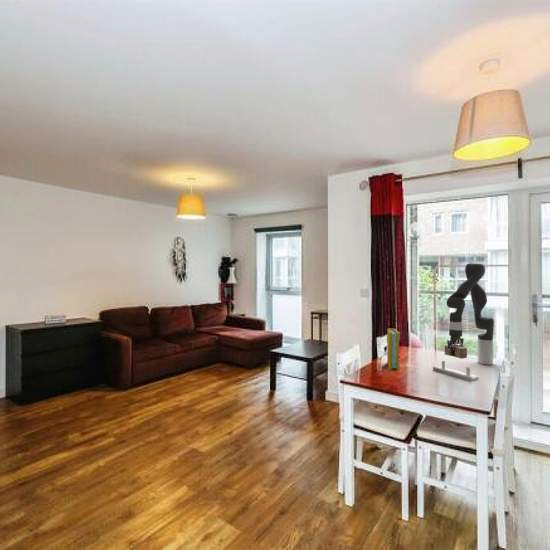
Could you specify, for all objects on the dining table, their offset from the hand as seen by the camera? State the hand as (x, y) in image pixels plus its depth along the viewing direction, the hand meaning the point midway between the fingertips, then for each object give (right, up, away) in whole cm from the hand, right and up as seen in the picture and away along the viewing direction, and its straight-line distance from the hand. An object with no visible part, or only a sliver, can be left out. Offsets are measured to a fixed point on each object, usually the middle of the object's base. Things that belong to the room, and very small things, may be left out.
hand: (455, 354), depth 224 cm
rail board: (0, -13, 0) cm, 13 cm away
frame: (0, -1, 0) cm, 1 cm away
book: (-34, -13, +19) cm, 41 cm away
